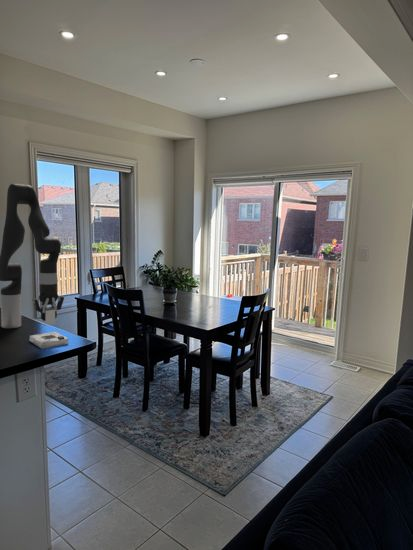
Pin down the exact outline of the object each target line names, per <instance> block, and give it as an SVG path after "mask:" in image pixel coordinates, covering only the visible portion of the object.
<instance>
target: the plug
mask: <svg viewBox="0 0 413 550" xmlns="http://www.w3.org/2000/svg"><path fill="white" fill-rule="evenodd" d="M42 324H45V325H51V324H56V319H55V308H53V307H51V306H47V308H46V309H45V321H43V320H42Z"/></svg>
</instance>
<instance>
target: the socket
mask: <svg viewBox="0 0 413 550" xmlns="http://www.w3.org/2000/svg"><path fill="white" fill-rule="evenodd" d="M29 342H30V343H32V344H34V345H35V346H37V347H38V348H40V349H41V350H43V349H44V350H45V349H49V348H53V347H59V346H64V345H69V338H68V337H67V336H65V335H63V334H60V333H59V332H58V331H51V332H45V333H39V334H33V335H29Z"/></svg>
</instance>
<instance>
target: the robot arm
mask: <svg viewBox="0 0 413 550" xmlns="http://www.w3.org/2000/svg"><path fill="white" fill-rule="evenodd" d="M18 205H28V206H29V208H30V212H29V215H28V221H27V223H28V227H29V229H30V231H31V233H32V234H33V239H34V248H35V251H36V252H37V253H38V254H41V255H46V254H47V255H48V256H47V258H44V259H41V260H40V261H39V278H38V279H39V280H38V282H39V288H38V289H39V296H38V297H36V298H33V299H32V300H31V301H32V303H33V305H34V309H35V311H36V312H38V313H40V320H42V322H43V321H45V309H46V308H47V307H48V306H50V307H53V308H55V320H56V319H57V317H58V316H57V315H58V314H57V312H58V311H60V310H62V306H63V304H64V300H65V297H64V296H60V295H59V294H58V281H59V279H58V261H59V256H60V254H61V249H62V245H61V242H60V240H59V239H58V238H55V237H49V236H50V234H51V233H50V232H51V231H50V229H49V226H48V224H47V223H46V220H45V219H44V215H43V214H42V211H41V207H40V202H39V200H38V196H37V193H36V191H35V189H34V187H33V186H32V185H30V184H23V183H11V184H9V185H8V188H7V194H6V212H5V213H6V214H5V220H4V227H3V233H2V241H1V248H0V249H1V250H0V282H11V283H10V284H9V285H7V286H4V287H2V288H1V290H0V311H1V312H0V313H1V314H0V316H1V317H0V319H1V321H0V323H1V328H2V329H17V328H20V327H22V296H21V295H22V282H23V281H22V278H23V269H22V266H21V264H20V263H19V262H10V260H11V258H12V256H13V255H14V254H15V253H16V252H17V251H18V250H19V249H20V248H21V247H22V245H23V243H24V241H25V240H24V239H25V235H26V229H25V226H24V224H23V222H22V220H21V218H20V217H19V215H18ZM56 301H57V303H56ZM40 302H41V305H40V304H39V303H40Z"/></svg>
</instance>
